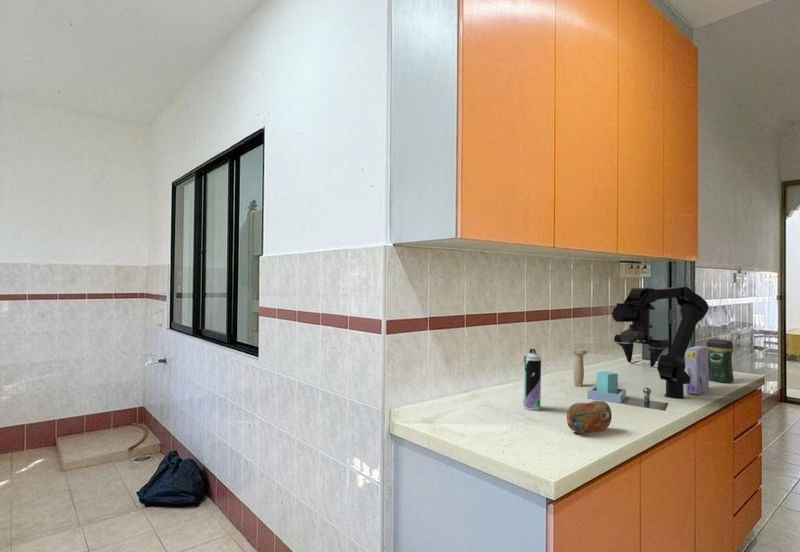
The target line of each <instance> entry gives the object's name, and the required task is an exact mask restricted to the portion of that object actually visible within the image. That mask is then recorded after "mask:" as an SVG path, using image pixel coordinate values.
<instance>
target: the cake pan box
mask: <svg viewBox="0 0 800 552" xmlns="http://www.w3.org/2000/svg"><path fill="white" fill-rule="evenodd" d="M684 361H685V365H686V366H685V372H686V373H687V374H688V376H689V377H690V378H691V379H690V382H689V384H685V393H686V394H689V395H695V396H700V395H701V394H702V393H705V392H706V391H707V390H709V389H710V388H709V387H710V385H709V384H710V382H709V381H710V380H709V372H708V346H707V345H705V346H704V345H703V346H702V345H695V346H692V347H687V350H686V353H685V355H684Z"/></svg>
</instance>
